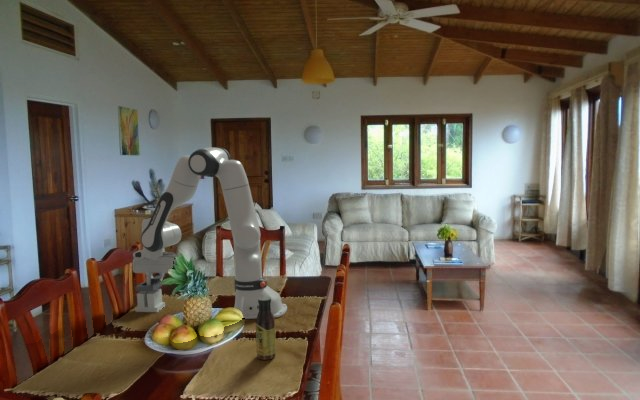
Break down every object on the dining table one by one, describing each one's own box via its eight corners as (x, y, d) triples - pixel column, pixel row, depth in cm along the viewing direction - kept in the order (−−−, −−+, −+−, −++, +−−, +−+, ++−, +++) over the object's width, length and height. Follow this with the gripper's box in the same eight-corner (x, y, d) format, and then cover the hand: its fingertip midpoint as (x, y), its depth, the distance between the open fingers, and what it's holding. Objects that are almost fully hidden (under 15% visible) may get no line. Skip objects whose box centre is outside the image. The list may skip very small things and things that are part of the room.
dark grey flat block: (167, 282, 204) (167, 275, 204) (153, 291, 192) (152, 284, 191) (151, 282, 206) (150, 275, 205) (135, 290, 193) (135, 284, 192)
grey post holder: (165, 306, 200) (162, 268, 198) (157, 312, 193) (154, 273, 191) (144, 306, 201) (141, 268, 199) (135, 311, 194) (132, 272, 192)
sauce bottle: (255, 354, 149) (252, 296, 147) (273, 351, 152) (270, 293, 149) (259, 362, 143) (256, 302, 141) (278, 359, 146) (275, 299, 143)
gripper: (179, 250, 202) (181, 280, 204) (137, 250, 206) (139, 280, 207) (173, 253, 196) (175, 284, 198) (129, 253, 199) (132, 284, 201)
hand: (156, 282), depth 202 cm, fingers closed on dark grey flat block, 2 cm apart
